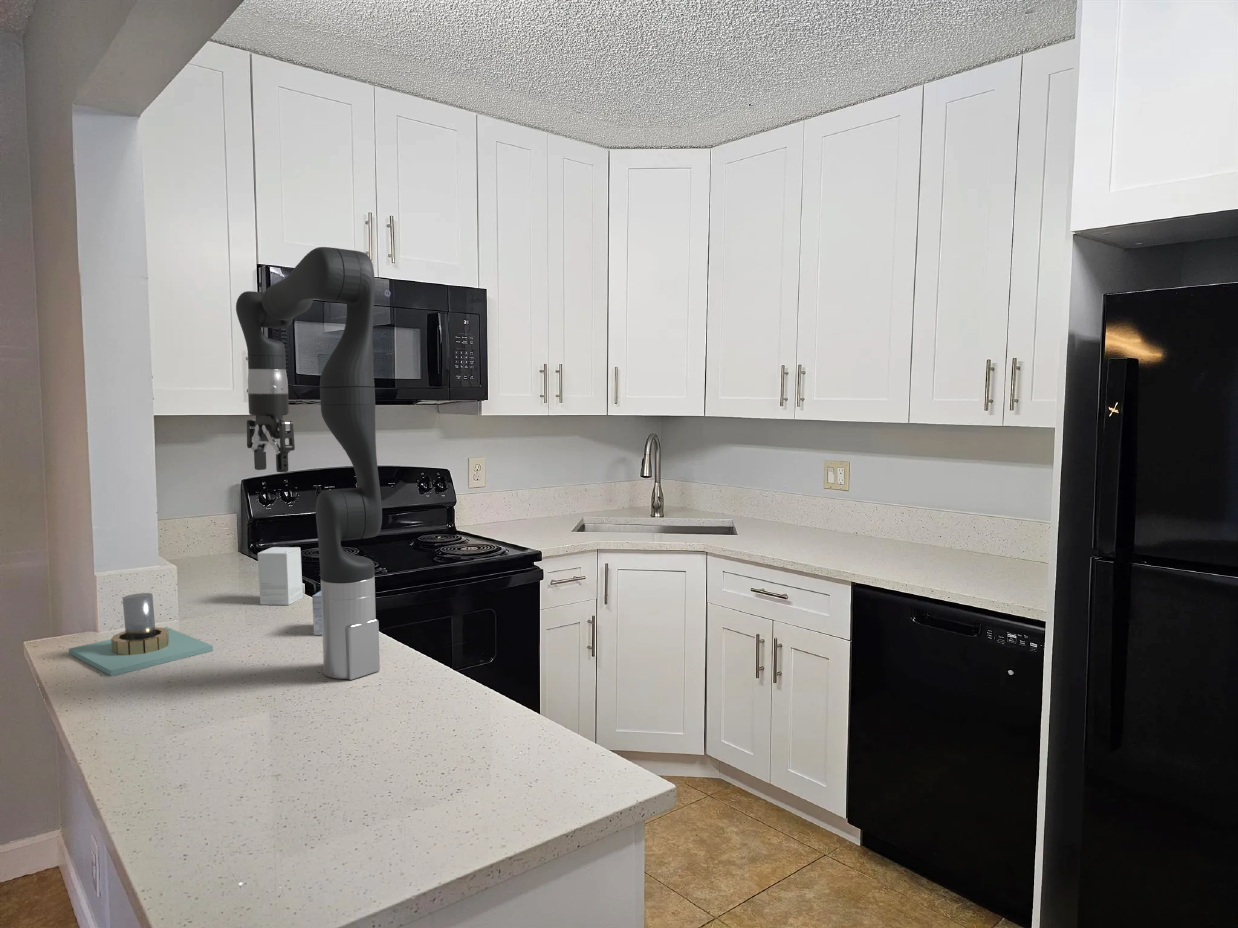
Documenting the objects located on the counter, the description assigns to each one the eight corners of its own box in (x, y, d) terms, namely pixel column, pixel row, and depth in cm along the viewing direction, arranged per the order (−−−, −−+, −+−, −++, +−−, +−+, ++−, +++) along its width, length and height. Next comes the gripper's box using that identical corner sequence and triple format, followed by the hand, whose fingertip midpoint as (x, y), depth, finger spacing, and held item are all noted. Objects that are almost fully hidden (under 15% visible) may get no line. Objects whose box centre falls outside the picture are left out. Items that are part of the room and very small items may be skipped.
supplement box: (303, 597, 199) (302, 546, 198) (288, 605, 192) (286, 552, 191) (275, 596, 200) (273, 546, 199) (258, 604, 193) (256, 552, 192)
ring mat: (212, 650, 159) (212, 645, 159) (111, 676, 145) (110, 670, 145) (166, 631, 172) (166, 626, 172) (69, 653, 158) (68, 648, 157)
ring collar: (177, 645, 159) (176, 633, 159) (124, 658, 152) (124, 645, 152) (156, 636, 165) (155, 624, 165) (104, 648, 158) (103, 635, 157)
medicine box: (334, 635, 169) (333, 594, 168) (313, 635, 169) (311, 594, 168) (347, 624, 177) (346, 585, 176) (327, 624, 177) (326, 585, 176)
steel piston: (160, 645, 159) (156, 595, 158) (132, 652, 155) (127, 600, 154) (150, 641, 162) (146, 591, 161) (122, 647, 158) (118, 597, 157)
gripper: (304, 391, 165) (307, 471, 166) (267, 391, 174) (270, 467, 175) (269, 392, 159) (272, 474, 160) (232, 391, 168) (236, 470, 169)
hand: (271, 470), depth 168 cm, fingers open, 8 cm apart
